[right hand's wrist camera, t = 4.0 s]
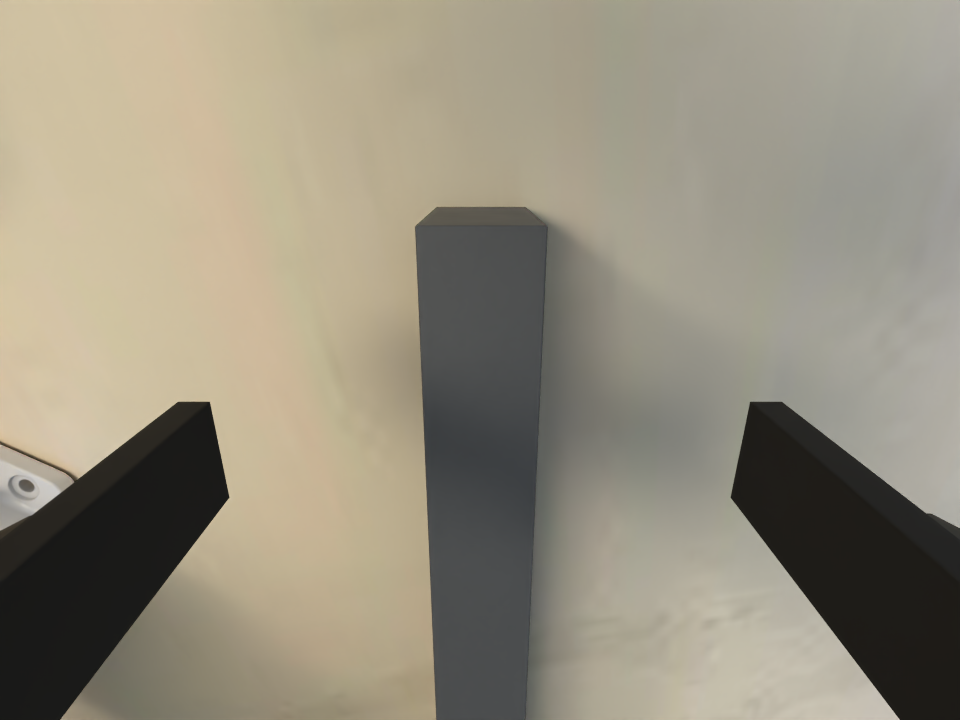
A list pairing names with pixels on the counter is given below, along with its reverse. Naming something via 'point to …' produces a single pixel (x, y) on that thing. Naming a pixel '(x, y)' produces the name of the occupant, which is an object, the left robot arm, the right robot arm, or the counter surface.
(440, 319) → the bar
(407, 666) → the counter surface
